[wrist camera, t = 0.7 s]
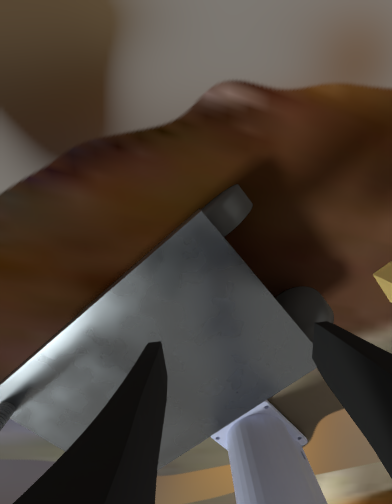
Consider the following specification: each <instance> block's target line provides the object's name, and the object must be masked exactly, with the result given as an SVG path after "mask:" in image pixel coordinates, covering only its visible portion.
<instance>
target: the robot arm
mask: <svg viewBox="0 0 392 504" xmlns="http://www.w3.org/2000/svg"><path fill="white" fill-rule="evenodd" d="M312 359H313V361H314V363H315V364H316V366H317V368H318V370H319V372H320V373H321V375H322V377H323V379H324V380H325V382H326V383H327V385H328V386H329V387H330V389H331V390H332V392H333V393H334V394H335V396H336V397H337V399H338V400H339V401H340V403H341V404H342V406H343V407H344V408H345V410H346V411H347V412H348V414H349V415H350V417H351V418H352V419H353V421H354V422H355V423H356V425H357V426H358V428H359V429H360V430H361V432H362V433H363V434H364V436H365V437H366V438H367V440H368V442H369V443H370V445H371V446H372V448H373V449H374V451H375V452H376V454H377V455H378V457H379V459H380V460H381V462H382V464H383V465H384V467H385V468H386V470H387V472H388V473H389V475H390V477H391V478H392V354H391V353H389V352H387V351H385V350H383V349H381V348H379V347H377V346H375V345H373V344H371V343H369V342H367V341H365V340H363V339H361V338H360V337H358V336H356V335H354V334H352V333H350V332H348V331H346V330H344V329H342V328H341V327H339V326H337V325H335V324H333V323H330V322H328V321H324V322H315V323H314V336H313V350H312ZM167 380H168V375H167V370H166V364H165V359H164V353H163V348H162V343H161V341H158V342H150V343H148V344H147V345H146V346H145V348H144V350H143V351H142V353H141V354H140V356H139V358H138V359H137V361H136V362H135V364H134V366H133V367H132V369H131V370H130V372H129V373H128V375H127V376H126V378H125V379H124V381H123V382H122V384H121V385H120V386H119V388H118V389H117V390H116V392H115V393H114V394H113V396H112V397H111V399H110V400H109V401H108V403H107V404H106V405H105V406H104V408H103V409H102V410H101V412H100V413H99V414H98V415H97V416H96V418H95V419H94V420H93V421H92V422H91V424H90V425H89V426H88V427H87V428H86V430H85V431H84V432H83V433H82V434H81V435H80V436H79V437H78V439H77V440H76V441H75V442H74V443H73V444H72V445H71V446H70V447H69V448H68V450H67V451H66V452H65V453H64V454H63V455H62V456H61V457H60V458H59V459H58V460H57V461H56V462H55V463H54V464H53V466H51V467H50V468H49V469H48V470H47V471H46V472H45V473H44V474H43V475H42V476H41V477H40V478H39V479H38V480H37V481H36V482H35V483H34V484H33V485H32V486H31V487H30V488H29V489H28V490H27V491H26V492H25V493H24V494H23V495H21V497H19V498H18V499H17V500H16V501H15V502H14V503H13V504H155V491H156V477H157V468H158V460H159V452H160V445H161V438H162V431H163V424H164V417H165V409H166V402H167ZM211 438H213V439H214V440H215V441H216V442H218V443H219V444H220V445H221V446H223V447H224V448H225V449H227V450H228V453H229V459H230V465H231V471H232V477H233V483H234V489H235V496H236V502H237V504H327V502H326V499H325V497H324V495H323V493H322V490H321V488H320V486H319V484H318V482H317V479H316V477H315V475H314V473H313V470H312V468H311V466H310V464H309V462H308V459H307V457H306V455H305V453H304V450H303V448H302V446H303V445H305V444H307V442H308V440H307V438H306V437H305V436H304V435H303V434H302V433H301V432H300V431H299V430H298V429H297V428H296V427H295V426H294V425H293V424H292V423H291V422H290V421H288V420H287V419H286V418H285V417H284V416H283V415H282V414H281V413H280V412H279V411H278V410H277V409H276V408H275V407H274V406H273V405H272V404H271V403H270V402H269V401H268V400H266V401H264V402H263V403H261V404H259V405H258V406H256V407H255V408H253V409H252V410H250V411H249V412H247V413H246V414H244V415H242V416H241V417H239V418H238V419H236V420H235V421H233V422H232V423H230V424H229V425H227V426H225V427H224V428H222V429H221V430H219V431H218V432H216V433H215V434H213V435H211Z"/></svg>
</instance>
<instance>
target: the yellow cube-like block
mask: <svg viewBox="0 0 392 504" xmlns="http://www.w3.org/2000/svg"><path fill="white" fill-rule="evenodd" d="M373 275H374V277H375V279H376V280H377V282H378V283H379V285H380V286H381V288H382V290H383V291H384V293H385V294H386V296H387V297H388V299H389V301H390V302H391V303H392V261H391V262H390V263H388V264H387V265H385V266H384V267H382V268H381V269H380V270H378V271H377V272H375V273H374V274H373Z"/></svg>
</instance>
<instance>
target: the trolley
mask: <svg viewBox="0 0 392 504" xmlns="http://www.w3.org/2000/svg"><path fill="white" fill-rule="evenodd" d="M252 206H253V204H252V202H251V201H250V200H249V198H248V197H247V196H246V194H245V193H244V192H243V190H242V189H241V188H240V186H239V185H238V184H236V185H233V186H232V187H230V188H228V189H227V190H225V191H224V192H222V193H221V194H219V195H218V196H217V197H215V198H214V199H213V200H212V201H211V202H209V203H208V204H207V205H206V206H205V207H204V208H202V209H200V208H199V209H198V210H197V211H196V212H195V213H193V214H192V215H191V216H190V217H189V218H188V219H187V220H185V221H184V222H183V223H182V224H181V225H180V226H178V227H177V228H176V229H175V230H174V231H173V232H172V233H170V234H169V235H168V236H167V237H166V238H165V239H164V240H162V241H161V242H160V243H159V244H158V245H157V246H156V247H154V248H153V249H152V250H151V251H150V252H149V253H148V254H146V255H145V256H144V257H143V258H142V259H141V260H139V261H138V262H137V263H136V264H135V265H134V266H133V267H131V268H130V269H129V270H128V271H127V272H126V273H125V274H123V275H122V276H121V277H120V278H119V279H118V280H117V281H115V282H114V283H113V284H112V285H111V286H110V287H109V288H107V289H106V290H105V291H104V292H103V293H102V294H101V295H99V296H98V297H97V298H96V299H95V300H94V301H92V302H91V303H90V304H89V305H88V306H87V307H86V308H84V309H83V310H82V311H81V312H80V313H79V314H78V315H76V316H75V317H74V318H73V319H72V320H71V321H70V322H68V323H67V324H66V325H65V326H64V327H63V328H62V329H60V330H59V331H58V332H57V333H56V334H55V335H54V336H52V337H51V338H50V339H49V340H48V341H47V342H45V343H44V344H43V345H42V346H41V347H40V348H39V349H37V350H36V351H35V352H34V353H33V354H32V355H31V356H29V357H28V358H27V359H26V360H25V361H24V362H23V363H21V364H20V365H19V366H18V367H17V368H16V369H15V370H13V371H12V372H11V373H10V374H9V375H8V376H6V377H5V378H4V379H3V380H2V381H1V382H0V430H1V429H2V428H3V427H4V425H5V424H6V423H7V421H8V420H9V419H12V420H13V421H15V422H17V423H18V424H20V425H22V426H23V427H25V428H27V429H28V430H30V431H32V432H33V433H35V434H37V435H38V436H40V437H42V438H43V439H45V440H47V441H49V442H50V443H52V444H54V445H55V446H57V447H59V448H60V449H62V450H64V451H65V452H66V451H67V450H68V448H69V447H70V446H71V445H72V444H73V443H74V442H75V441H76V440H77V439H78V437H79V436H80V435H81V434H82V433H83V432H84V431H85V430H86V428H87V427H88V426H89V425H90V424H91V422H92V421H93V420H94V419H95V418H96V416H97V415H98V414H99V413H100V412H101V410H102V409H103V408H104V406H105V405H106V404H107V403H108V401H109V400H110V399H111V397H112V396H113V394H114V393H115V392H116V390H117V389H118V388H119V386H120V385H121V384H122V382H123V381H124V379H125V378H126V376H127V375H128V373H129V372H130V370H131V369H132V367H133V366H134V364H135V362H136V361H137V359H138V358H139V356H140V354H141V353H142V351H143V350H144V348H145V346H146V345H147V344H148V343H150V342H158V341H161V343H162V348H163V353H164V359H165V364H166V370H167V375H168V380H167V402H166V409H165V417H164V424H163V431H162V438H161V445H160V452H159V460H158V468H157V470H159V469H160V468H162V467H164V466H165V465H167V464H168V463H170V462H171V461H173V460H174V459H176V458H177V457H179V456H181V455H182V454H184V453H185V452H187V451H188V450H190V449H191V448H193V447H194V446H196V445H198V444H199V443H201V442H202V441H204V440H205V439H207V438H208V437H210V436H211V435H213V434H215V433H216V432H218V431H219V430H221V429H222V428H224V427H225V426H227V425H229V424H230V423H232V422H233V421H235V420H236V419H238V418H239V417H241V416H242V415H244V414H246V413H247V412H249V411H250V410H252V409H253V408H255V407H256V406H258V405H259V404H261V403H263V402H264V401H266V400H267V399H269V398H270V397H272V396H273V395H275V394H276V393H278V392H280V391H281V390H283V389H284V388H286V387H287V386H289V385H290V384H292V383H293V382H295V381H297V380H298V379H300V378H301V377H303V376H304V375H306V374H307V373H309V372H310V371H312V370H314V369H315V368H317V366H316V364H315V363H314V361H313V359H312V350H313V336H314V323H315V322H324V321H328V322H330V323H333V321H334V315H333V311H332V309H331V308H330V306H329V305H328V304H327V302H326V301H325V300H324V298H323V297H322V296H321V294H320V293H319V292H318V291H317V290H315V289H313V288H310V287H304V286H302V287H295V288H291V289H288V290H286V291H284V292H283V293H281V294H280V295H278V296H277V297H276V298H274V296H273V295H272V294H271V293H270V292H269V290H268V289H267V288H266V287H265V286H264V284H263V283H262V282H261V281H260V280H259V279H258V277H257V276H256V275H255V274H254V273H253V271H252V270H251V269H250V268H249V267H248V265H247V264H246V263H245V262H244V261H243V259H242V258H241V257H240V256H239V255H238V253H237V252H236V251H235V250H234V249H233V248H232V246H231V245H230V244H229V243H228V242H227V240H226V239H225V238H224V237H225V236H226V235H227V234H229V233H230V232H231V231H232V230H233V229H235V228H236V227H237V226H238V225H239V224H240V223H241V222H242V221H243V220H244V219H245V217H246V216H247V215H248V214H249V212H250V211H251V209H252Z"/></svg>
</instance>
